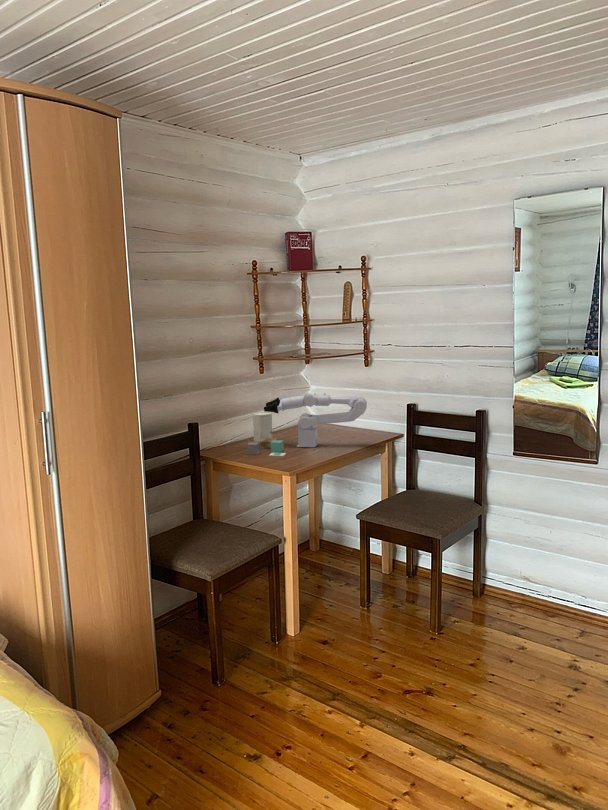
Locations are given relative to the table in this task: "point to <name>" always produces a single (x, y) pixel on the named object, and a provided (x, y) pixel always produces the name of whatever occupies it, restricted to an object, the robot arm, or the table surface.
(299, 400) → the robot arm
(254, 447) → the charcoal cube
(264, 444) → the walnut block
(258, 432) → the skincare box
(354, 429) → the table surface
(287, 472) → the table surface
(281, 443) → the teal cube
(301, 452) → the table surface
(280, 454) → the card
